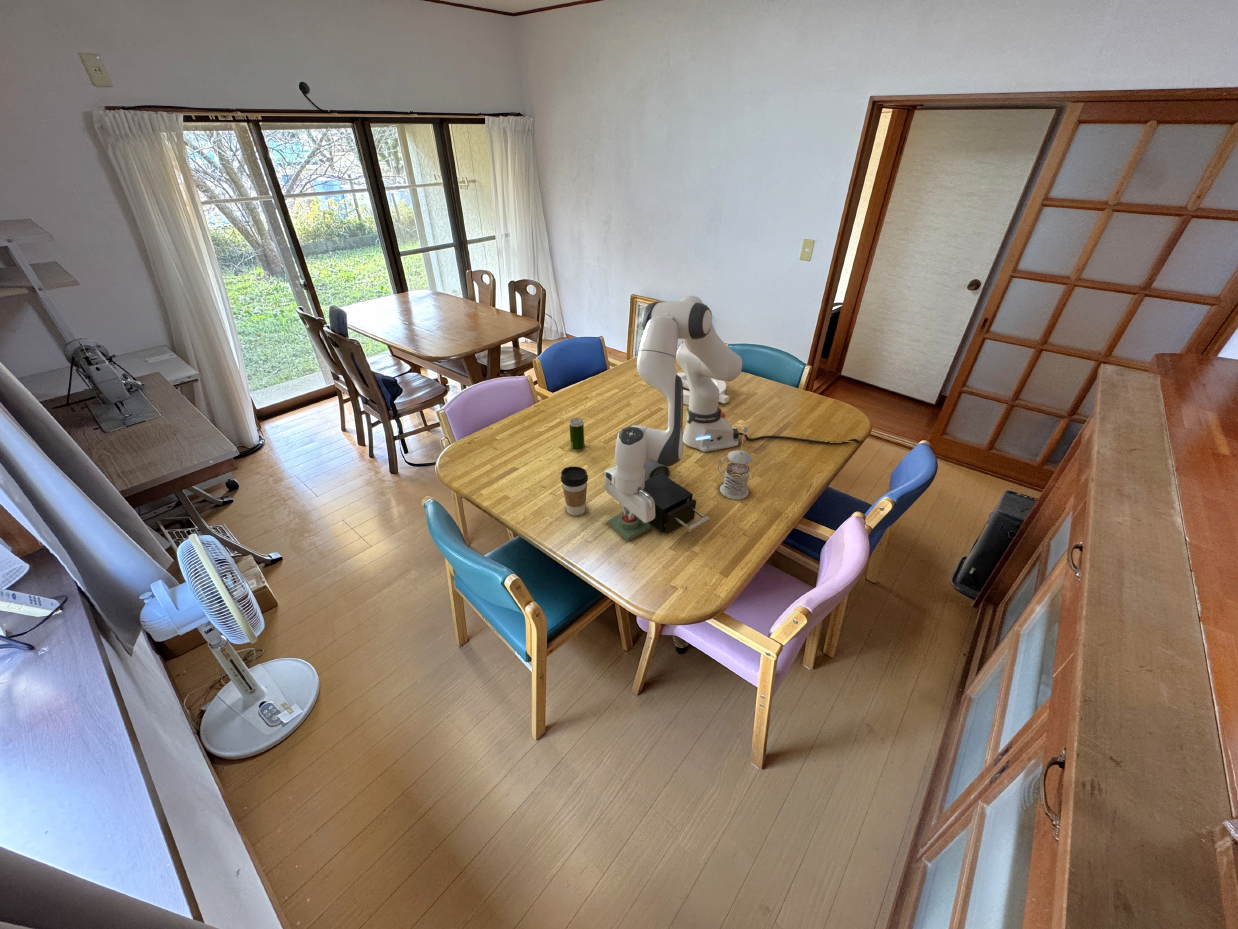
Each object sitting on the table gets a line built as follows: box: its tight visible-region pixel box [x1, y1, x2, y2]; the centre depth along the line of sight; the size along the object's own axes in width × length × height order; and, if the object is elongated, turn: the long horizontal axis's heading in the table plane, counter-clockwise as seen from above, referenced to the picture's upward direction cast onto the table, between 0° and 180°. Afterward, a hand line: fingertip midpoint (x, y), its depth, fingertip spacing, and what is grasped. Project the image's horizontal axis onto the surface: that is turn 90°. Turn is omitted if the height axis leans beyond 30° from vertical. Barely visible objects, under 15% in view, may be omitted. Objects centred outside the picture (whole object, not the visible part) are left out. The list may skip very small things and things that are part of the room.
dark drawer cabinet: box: [643, 473, 694, 534], centre depth 153 cm, size 15×13×9 cm
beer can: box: [568, 417, 585, 452], centre depth 185 cm, size 5×5×12 cm
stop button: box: [623, 516, 635, 522], centre depth 149 cm, size 4×4×2 cm
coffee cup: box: [560, 466, 589, 516], centre depth 153 cm, size 8×8×15 cm
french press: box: [717, 426, 753, 500], centre depth 160 cm, size 10×12×25 cm
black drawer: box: [663, 498, 710, 534], centre depth 149 cm, size 21×11×7 cm, turn 38°
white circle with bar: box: [676, 371, 730, 406], centre depth 229 cm, size 28×28×5 cm
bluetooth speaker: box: [644, 460, 671, 480], centre depth 173 cm, size 23×9×10 cm, turn 23°
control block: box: [607, 511, 652, 542], centre depth 149 cm, size 10×9×4 cm
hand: (628, 517), depth 148 cm, fingers closed, pressing on stop button
